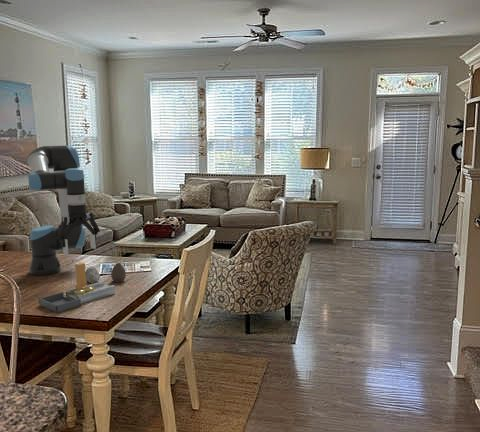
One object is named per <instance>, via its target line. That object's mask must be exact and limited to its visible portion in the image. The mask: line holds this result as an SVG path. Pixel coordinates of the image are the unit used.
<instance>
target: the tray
mask: <svg viewBox="0 0 480 432" xmlns="http://www.w3.org/2000/svg"><path fill="white" fill-rule="evenodd" d="M38 304H39V305H41V306H40V307H42V306H43V308H44V307H45V308H44V309H46V308H47V309H46V310H48V309H49V310H48V311H51V312H53V313H56V314H58V313H63V312H65V311H69V310H73V309H75V308H79V307H81V306H82V304H81V299H76V300H72V299H70V298H67V297H66V296H65V294H64V292H63V291H60V292H57V293H54V294H50V295H46V296H43V297H40V298H38ZM39 305H38V306H39Z"/></svg>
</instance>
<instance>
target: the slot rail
mask: <svg viewBox="0 0 480 432" xmlns="http://www.w3.org/2000/svg"><path fill="white" fill-rule="evenodd" d="M86 285H87V286H84V287H80V288H77V289H75V288H74V289H70V290H66V291H65V297H67V298H70V299H72V300H76V299H81V305H82V304H85V303H88V302H91V301H95V300H99V299H102V298H104V297H108V296H111V295H114V294H116V286H115V285H113V284H112V285H105V282H104V281H98V282H94V283H91V284H86ZM89 286H93V287H94V288H95V290H94V291H91V292H87V293H84V294H80V295H77V296H76V292H75V291H76V290H78V289H85V288H86V287H89Z"/></svg>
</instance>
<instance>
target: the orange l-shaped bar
mask: <svg viewBox="0 0 480 432" xmlns="http://www.w3.org/2000/svg"><path fill="white" fill-rule="evenodd" d="M74 266H75V279H76V282H75V283H76V284H74V287H75V288H74V289H77V288H80V287H84V286H87V285H88V284H87V281H86V273H85V271H86V263H85V262H78V263H77V262H76V263H74Z"/></svg>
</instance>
